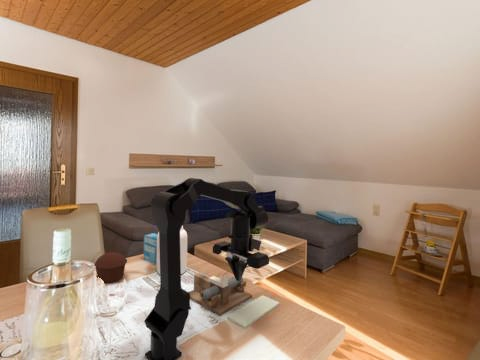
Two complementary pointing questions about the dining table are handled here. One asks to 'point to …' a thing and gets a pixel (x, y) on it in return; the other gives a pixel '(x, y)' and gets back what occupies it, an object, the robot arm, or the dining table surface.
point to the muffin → (110, 267)
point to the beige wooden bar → (219, 281)
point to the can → (182, 251)
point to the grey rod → (217, 289)
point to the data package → (150, 248)
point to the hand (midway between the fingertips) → (238, 280)
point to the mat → (253, 311)
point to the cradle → (221, 301)
